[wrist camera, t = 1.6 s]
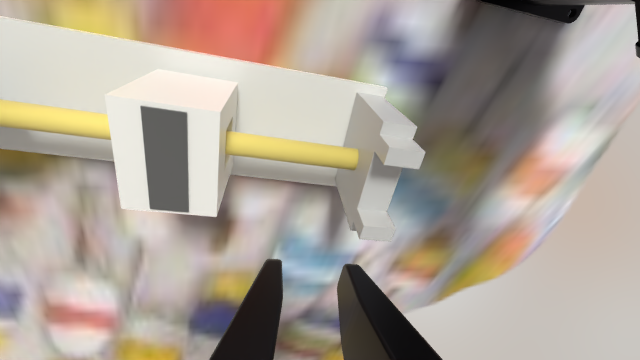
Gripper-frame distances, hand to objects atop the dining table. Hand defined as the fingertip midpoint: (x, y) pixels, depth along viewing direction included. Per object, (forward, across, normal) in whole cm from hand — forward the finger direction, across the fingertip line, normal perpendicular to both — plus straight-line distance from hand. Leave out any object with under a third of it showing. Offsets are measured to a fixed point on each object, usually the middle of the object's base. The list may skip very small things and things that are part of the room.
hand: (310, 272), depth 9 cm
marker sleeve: (+11, +6, 0) cm, 12 cm away
